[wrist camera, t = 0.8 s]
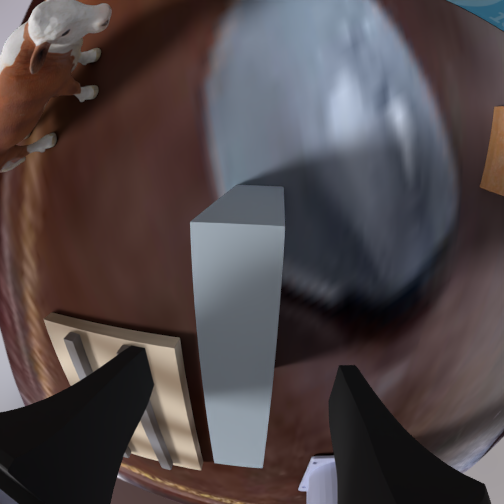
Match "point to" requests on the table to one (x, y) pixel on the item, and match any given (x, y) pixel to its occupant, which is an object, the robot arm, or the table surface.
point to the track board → (163, 394)
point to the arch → (495, 156)
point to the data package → (485, 10)
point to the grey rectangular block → (238, 315)
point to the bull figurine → (43, 70)
